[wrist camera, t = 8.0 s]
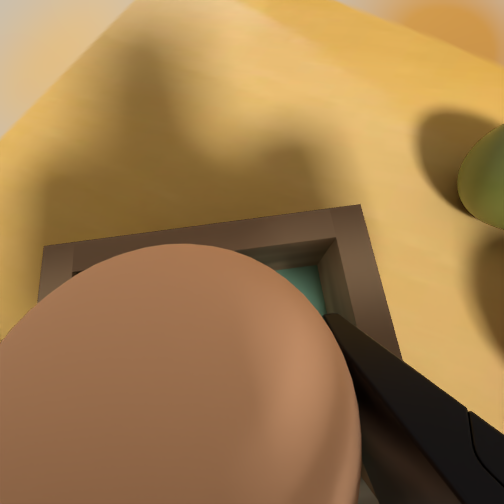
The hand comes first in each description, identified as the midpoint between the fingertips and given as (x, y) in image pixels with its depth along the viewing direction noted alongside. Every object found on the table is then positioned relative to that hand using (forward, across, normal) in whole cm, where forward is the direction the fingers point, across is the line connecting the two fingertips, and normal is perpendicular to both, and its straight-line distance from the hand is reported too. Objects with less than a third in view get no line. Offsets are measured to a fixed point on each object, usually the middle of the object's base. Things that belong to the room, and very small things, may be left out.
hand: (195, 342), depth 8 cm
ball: (+1, 0, +2) cm, 3 cm away
